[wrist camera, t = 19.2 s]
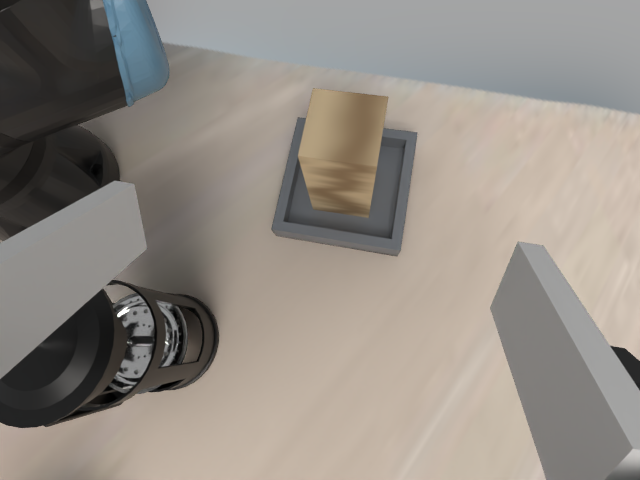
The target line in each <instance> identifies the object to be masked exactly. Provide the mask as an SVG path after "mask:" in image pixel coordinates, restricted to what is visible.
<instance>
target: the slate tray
mask: <svg viewBox="0 0 640 480" xmlns="http://www.w3.org/2000/svg"><path fill="white" fill-rule="evenodd" d="M305 122H306V118H299V117H298V119H297V123H296V127H295V132H294V136H293V140H292V144H291V149H290V153H289V157H288V161H287V166H286V170H285V174H284V178H283V183H282V187H281V191H280V195H279V200H278V204H277V208H276V212H275V217H274V221H273V225H272V231H273V232H274V233H275V235H276V236H280V237H286V238H292V239H298V240H304V241H310V242H316V243H322V244H328V245H333V246H339V247H345V248H351V249H357V250H363V251H369V252H375V253H381V254H386V255H392V256H398V254H399V252H400V251H401V244H402V237H403V230H404V223H405V216H406V209H407V202H408V195H409V188H410V181H411V174H412V167H413V160H414V153H415V146H416V139H417V133H416V132H408V131H401V130H393V129H385V128H383V133H382V139H381V145H380V151H379V158H378V164H377V170H376V176H375V182H374V188H373V194H372V200H371V206H370V212H369V218H366V217H359V216H353V215H346V214H340V213H333V212H327V211H320V210H314V209H313V208H312V204H311V200H310V197H309V193H308V190H307V186H306V183H305V179H304V176H303V172H302V169H301V165H300V162H299V158H298V153H299V148H300V144H301V139H302V135H303V131H304V126H305Z"/></svg>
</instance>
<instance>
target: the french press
mask: <svg viewBox="0 0 640 480" xmlns="http://www.w3.org/2000/svg"><path fill="white" fill-rule="evenodd" d="M114 284H120V285H124V286H127V287H129V288H130V289H132V290H134V291H135V292H137V293H135V294H132V295H129V296H127V297H125V298H122V299H121V300H119V301H118V302H116V303H112V302H111V300H110V298H109V297H108V295H107V293H106V292H105V290H104V289H103V288H102V289H101V290H100V291H99V292H98V293H97V294H96V295H94V296H93V297H92V298H91V299H90V300H89V301H88V302H87V303H85V304H84V305H83V306H82V307H81V308H80V309H79V310H78V311H76V312H75V313H74V314H73V315H72V316H71V317H70V318H69V319H67V320H66V321H65V322H64V323H63V324H62V325H61V326H59V327H58V328H57V329H56V330H55V331H54V332H53V333H52V334H50V335H49V336H48V337H47V338H46V339H45V340H44V341H43V342H41V343H40V344H39V345H38V346H37V347H36V348H35V349H34V350H32V351H31V352H30V353H29V354H28V355H27V356H26V357H25V358H23V359H22V360H21V361H20V362H19V363H18V364H17V365H16V366H14V367H13V368H12V369H11V370H10V371H9V372H8V373H6V374H5V375H4V376H3V377H2V378H1V379H0V422H1V423H3V424H5V425H8V426H13V427H19V428H29V427H39V426H42V425H43V426H45V427H48V426H52V425H55V424H59V423H62V422H65V421H69V420H72V419H76V418H79V417H82V416H86V415H89V414H92V413H96V412H99V411H102V410H106V409H109V408H113V407H116V406H119V405H121V404H122V403H123V402H124V401H125V400H127V399H129V398H131V397H133V396H134V395H135V394H141V393H145V392H160V391H164V390H176V389H180V388H183V387H186V386H188V385H190V384H192V383H194V382H195V381H196V380H198V379H199V378H200V377H202V375H203V374H204V373H205V372H206V371H207V370H208V368H209V367H210V365H211V363H212V362H213V360H214V357H215V355H216V352H217V347H218V341H219V333H218V327H217V323H216V320H215V318H214V315H213V314H212V312H211V311H210V309H209V308H208V307H207V306H206V305H205V304H204V303H203V302H201V301H199V300H198V299H196V298H194V297H191V296H188V295H182V294H169V293H163V292H158V291H154V290H150V289H146V288H142V287H138V286H135V285H132V284H130V283H126V282H122V281H117V280H111V281H110V282H109V283H108V284H107V285H114ZM178 307H183V308H186V309H188V310H190V311H192V312H193V313H194V314H195V315H196V316H197V317H198V318H199V320H200V323H201V327H202V333H203V334H202V347H201V352H200V354H199V357H198V359H197V361H195V362H188V363H182V362H183V359H184V357H185V354H186V350H187V344H188V330H187V324H186V321H185V318H184V316H183V314H182V312H181V310H180V309H179V308H178Z"/></svg>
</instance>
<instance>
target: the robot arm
mask: <svg viewBox="0 0 640 480" xmlns="http://www.w3.org/2000/svg"><path fill="white" fill-rule="evenodd" d="M168 78H169V64H168V60H167V57H166V53H165V50H164V47H163V44H162V41H161V38H160V36H159V33H158V31H157V28H156V25H155V22H154V19H153V17H152V14H151V12H150V9H149V7H148V4H147V2H146V0H0V240H2V241H3V242H1V243H0V379H1V378H2V377H3V376H4V375H5V374H6V373H8V372H9V371H10V370H11V369H12V368H13V367H14V366H16V365H17V364H18V363H19V362H20V361H21V360H22V359H23V358H25V357H26V356H27V355H28V354H29V353H30V352H31V351H32V350H34V349H35V348H36V347H37V346H38V345H39V344H40V343H41V342H43V341H44V340H45V339H46V338H47V337H48V336H49V335H50V334H52V333H53V332H54V331H55V330H56V329H57V328H58V327H59V326H61V325H62V324H63V323H64V322H65V321H66V320H67V319H69V318H70V317H71V316H72V315H73V314H74V313H75V312H76V311H78V310H79V309H80V308H81V307H82V306H83V305H84V304H85V303H87V302H88V301H89V300H90V299H91V298H92V297H93V296H94V295H96V294H97V293H98V292H99V291H100V290H101V289H102V288H103V287H105V286H106V285H107V284H108V283H109V282H110V281H111V280H112V279H114V278H115V277H116V276H117V275H118V274H119V273H120V272H121V271H123V270H124V269H125V268H126V267H127V266H128V265H129V264H131V263H132V262H133V261H134V260H135V259H136V258H137V257H138V256H140V255H141V254H142V253H143V252H144V251H145V250H146V249H147V244H146V239H145V234H144V229H143V224H142V219H141V214H140V209H139V204H138V199H137V195H136V190H135V185H134V184H133V183H127V182H120V181H119V170H118V165H117V162H116V159H115V157H114V155H113V153H112V152H111V150H110V149H109V148H108V146H107V145H106V144H105V143H103V142H102V141H101V140H100V139H98V138H97V137H96V136H95V135H93V134H92V133H91V132H89V131H88V130H86V129H84V128H82V127H80V126H78V124H80V123H83V122H86V121H88V120H91V119H93V118H96V117H99V116H101V115H104V114H107V113H109V112H112V111H114V110H117V109H120V108H122V107H125V106H128V107H130V106H132V105H133V104H134V102H135V101H136V100H139V99H141V98H143V97H145V96H147V95H150V94H152V93H154V92H156V91H158V90H160V89H161V88H163V87H164V86H165V85H166V83H167V80H168ZM490 309H491V312H492V315H493V318H494V321H495V324H496V327H497V330H498V333H499V336H500V339H501V342H502V346H503V349H504V352H505V355H506V358H507V361H508V364H509V367H510V370H511V373H512V376H513V379H514V382H515V385H516V388H517V391H518V394H519V397H520V400H521V403H522V406H523V410H524V413H525V416H526V419H527V422H528V425H529V428H530V431H531V434H532V437H533V440H534V443H535V446H536V449H537V452H538V455H539V458H540V461H541V464H542V467H543V471H544V474H545V477H546V480H640V361H639V360H638V359H636V358H635V357H634V356H633V355H632V354H631V353H630V352H628V351H627V350H626V349H625V348H619V347H614V346H610V345H609V344H608V342H607V341H606V339H605V338H604V336H603V334H602V333H601V331H600V330H599V328H598V327H597V325H596V324H595V322H594V321H593V319H592V318H591V316H590V315H589V313H588V312H587V310H586V309H585V307H584V306H583V304H582V303H581V301H580V300H579V298H578V297H577V295H576V294H575V292H574V291H573V289H572V288H571V286H570V285H569V283H568V282H567V280H566V279H565V277H564V276H563V274H562V273H561V271H560V270H559V268H558V267H557V265H556V264H555V262H554V261H553V259H552V258H551V256H550V255H549V253H548V252H547V250H546V249H545V247H544V246H543V245H537V244H530V243H524V242H517V245H516V247H515V250H514V252H513V254H512V257H511V259H510V262H509V264H508V266H507V269H506V271H505V274H504V276H503V278H502V281H501V283H500V285H499V288H498V290H497V293H496V295H495V297H494V300H493V302H492V305H491V307H490Z"/></svg>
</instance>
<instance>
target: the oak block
mask: <svg viewBox="0 0 640 480" xmlns="http://www.w3.org/2000/svg"><path fill="white" fill-rule="evenodd" d="M387 102H388V97H386V96H377V95H368V94H359V93H350V92H341V91H333V90H324V89H315V88H313V90H312V95H311V99H310V104H309V108H308V113H307V117H306V122H305V126H304V131H303V135H302V139H301V144H300V148H299V153H298V158H299V162H300V165H301V169H302V172H303V176H304V179H305V183H306V186H307V190H308V193H309V197H310V200H311V204H312V208H313V209H314V210H320V211H327V212H333V213H340V214H346V215H353V216H359V217H366V218H369V212H370V206H371V200H372V194H373V188H374V182H375V176H376V170H377V164H378V158H379V151H380V145H381V139H382V133H383V127H384V121H385V114H386V108H387Z"/></svg>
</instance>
